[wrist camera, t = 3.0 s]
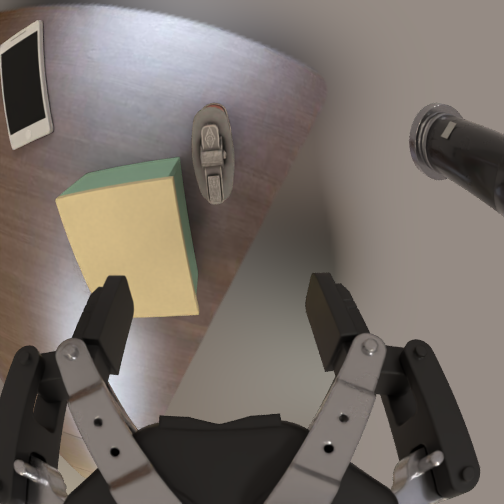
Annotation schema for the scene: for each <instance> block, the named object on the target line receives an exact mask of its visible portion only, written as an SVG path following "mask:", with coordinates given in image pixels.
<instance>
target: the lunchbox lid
mask: <svg viewBox="0 0 504 504" xmlns="http://www.w3.org/2000/svg"><path fill="white" fill-rule="evenodd" d="M55 200H56V204H57V207H58V210H59V213H60V216H61V219H62V222H63V225H64V228H65V231H66V234H67V236H68V239H69V242H70V244H71V247H72V250H73V252H74V255H75V257H76V260H77V262H78V264H79V267H80V269H81V271H82V274H83V276H84V278H85V280H86V283H87V285H88V287H89V289H90V291H91V293H93V292H94V291H95V290H96V289H97V288H98V287H103V285H104V283H105V281H106V279H107V277H108V276H109V275H124V276H126V278H127V281H128V285H129V289H130V292H131V295H132V299H133V303H134V315H133V318H135V317H163V316H183V315H198V314H199V307H198V302H197V298H196V293H195V289H194V284H193V280H192V275H191V270H190V265H189V261H188V256H187V250H186V245H185V240H184V235H183V229H182V224H181V218H180V212H179V207H178V201H177V194H176V188H175V182H174V176H169V177H161V178H154V179H147V180H141V181H134V182H128V183H122V184H116V185H111V186H105V187H100V188H95V189H90V190H85V191H80V192H75V193H71V194H66V195H62V196H59V197H57V198H56V199H55Z"/></svg>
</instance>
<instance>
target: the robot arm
mask: <svg viewBox="0 0 504 504" xmlns="http://www.w3.org/2000/svg"><path fill="white" fill-rule="evenodd" d="M422 151H423V156H424V159H425V161H426V163H427V165H428V166H429V167H430V168H431V169H432V170H434V171H435V172H437V173H439V174H442V175H443V176H445V177H447V178H448V179H450V180H451V181H453V182H455V183H456V184H458V185H459V186H461V187H462V188H464V189H465V190H467V191H469V192H470V193H472V194H473V195H475V196H476V197H477V198H479V199H480V200H482V201H483V202H485V203H486V204H487V205H489V206H490V207H492V208H493V209H494V210H496V211H497V212H498V213H500V214H501V215H502V216H504V134H502V133H499V132H497V131H495V130H492V129H489V128H487V127H484V126H482V125H479V124H476V123H473V122H470V121H468V120H465V119H462V118H459V117H456V116H454V115H451V114H448V113H440V114H437V115H435V116H434V117H433V118H431V120H430V121H429V122H428V124H427V125H426V127H425V130H424V133H423V138H422ZM305 304H306V305H305V307H306V313H307V316H308V319H309V322H310V325H311V328H312V331H313V334H314V338H315V341H316V344H317V347H318V350H319V354H320V357H321V360H322V363H323V367H324V369H325V372H328V371H334V373H335V379H334V380H333V382H332V384H331V386H330V389H329V390H328V393H327V394H326V396H325V398H324V400H323V402H322V404H321V406H320V408H319V410H318V412H317V413H316V415H315V417H314V419H313V420H312V422H311V424H310V425H309V427H308V429H306V428H305V427H302V426H300V425H298V424H295V423H291V422H288V421H281V417H280V414H270V415H257V416H249V417H245V418H242V419H238V420H234V421H231V422H227V423H223V424H215V423H211V422H207V421H202V420H198V419H194V418H191V417H177V416H160V417H159V423H154V424H151V425H148V426H146V427H143V428H141V429H140V430H138V429H137V428H136V426H135V425H134V424H133V422H132V421H131V419H130V418H129V417H128V415H127V413H126V412H125V410H124V408H123V407H122V405H121V403H120V402H119V400H118V398H117V396H116V395H115V393H114V391H113V389H112V387H111V386H110V384H109V382H108V379H109V375H110V374H112V375H119V370H120V366H121V361H122V357H123V353H124V349H125V345H126V341H127V337H128V333H129V330H130V326H131V322H132V319H133V315H134V303H133V299H132V295H131V292H130V289H129V285H128V281H127V278H126V276H124V275H109V276H108V277H107V279H106V281H105V283H104V285H103V287H98V288H97V289H96V290H95V291H94V292H93V293H92V294H91V295H90V297H89V299H88V301H87V305H86V306H85V308H84V312H82V315H81V317H80V319H79V322H78V324H77V326H76V329H75V331H74V334H73V336H72V338H70V339H67V340H65V341H63V342H62V343H61V344H60V345H59V346H58V348H57V350H56V351H54V352H48V353H42V354H40V353H39V351H38V350H37V349H36V348H35V347H34V346H24V347H22V348H21V349H19V350H18V351H17V353H16V354H15V356H14V359H13V361H12V364H11V367H10V369H9V372H8V375H7V378H6V381H5V384H4V387H3V390H2V393H1V397H0V504H436V503H439V502H442V501H445V500H448V499H451V498H453V497H456V496H459V495H461V494H464V493H466V492H468V491H470V490H472V489H473V488H474V487H475V486H476V484H477V482H478V480H479V477H480V467H479V464H478V460H477V457H476V454H475V450H474V447H473V444H472V441H471V439H470V436H469V433H468V430H467V427H466V425H465V422H464V420H463V417H462V414H461V412H460V409H459V407H458V405H457V402H456V400H455V397H454V395H453V393H452V390H451V388H450V386H449V384H448V381H447V379H446V377H445V375H444V373H443V371H442V368H441V366H440V364H439V362H438V360H437V358H436V356H435V354H434V352H433V350H432V348H431V347H430V346H429V345H428V344H427V343H425V342H424V341H421V340H416V339H415V340H411V341H409V342H408V343H407V344H406V346H405V347H404V348H402V347H392V346H387V345H385V343H384V342H383V341H382V340H381V339H380V338H379V337H378V336H376V335H373V334H370V332H369V330H368V328H367V326H366V324H365V322H364V320H363V318H362V316H361V314H360V312H359V310H358V308H357V306H356V304H355V302H354V301H353V298H352V296H351V294H350V292H349V291H348V290H347V289H346V288H345V287H344V286H343V285H342V284H335V282H334V280H333V278H332V276H331V274H330V273H312V275H311V278H310V283H309V287H308V292H307V296H306V302H305ZM37 394H38V395H37ZM376 394H380V395H381V398H382V402H383V405H384V408H385V411H386V415H387V418H388V421H389V424H390V428H391V432H392V435H393V439H394V442H395V446H396V450H397V453H398V457H399V462H398V463H397V465H396V466H395V469H394V472H393V486H392V488H391V490H390V489H389V488H388V487H386V486H385V485H383V484H382V483H380V482H379V481H377V480H376V479H374V478H372V477H371V476H369V475H368V474H367V473H365V472H364V471H363V470H361V469H359V468H358V467H357V466H355V465H354V464H353V463H351V462H350V461H351V458H352V456H353V454H354V452H355V450H356V447H357V445H358V443H359V441H360V438H361V436H362V433H363V431H364V429H365V426H366V423H367V421H368V418H369V416H370V413H371V410H372V407H373V405H374V402H375V399H376ZM36 396H37V399H36ZM35 400H36V403H35ZM34 404H35V407H34ZM67 404H68V407H69V409H70V412H71V414H72V416H73V419H74V421H75V423H76V425H77V428H78V430H79V432H80V434H81V436H82V438H83V440H84V442H85V444H86V446H87V448H88V450H89V452H90V454H91V456H92V458H93V460H94V461H95V463H96V465H97V467H98V468H97V469H96V470H95V471H94V472H93V473H92V474H91V475H90V476H89V477H88V478H87V479H86V480H85V481H83V482H82V483H81V484H80V485H79V486H78V487H77V488H76V489H75V490H74V491H72V492H71V493H70V494H69V495H67V493H66V484H65V483H64V480H63V477H62V475H61V474H60V472H59V471H58V470H57V469H58V459H59V450H60V442H61V435H62V428H63V422H64V416H65V411H66V406H67ZM33 408H34V412H33Z"/></svg>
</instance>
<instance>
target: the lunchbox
mask: <svg viewBox="0 0 504 504" xmlns="http://www.w3.org/2000/svg"><path fill="white" fill-rule="evenodd" d="M169 176H174V182H175V188H176V194H177V201H178V207H179V212H180V218H181V224H182V229H183V235H184V240H185V245H186V250H187V256H188V261H189V265H190V270H191V275H192V280H193V284H194V289H195V293H196V291H197V280H198V270H197V265H196V259H195V254H194V248H193V243H192V237H191V231H190V225H189V219H188V213H187V206H186V200H185V193H184V186H183V179H182V172H181V164H180V158H179V157H176V158H169V159H161V160H155V161H148V162H142V163H136V164H130V165H125V166H120V167H114V168H109V169H104V170H100V171H95V172H90V173H87V174H85V175H84V176H83V177H81V178H80V179H79V180H78V181H76V182H75V183H74V184H73V185H71V186H70V187H69V188H68V189H67V190H66V191H64V192H63V193H62V194H61V195H60V196H62V195H66V194H71V193H75V192H80V191H85V190H90V189H95V188H100V187H105V186H111V185H116V184H122V183H128V182H134V181H141V180H147V179H154V178H161V177H169Z"/></svg>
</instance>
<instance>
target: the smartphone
mask: <svg viewBox="0 0 504 504" xmlns="http://www.w3.org/2000/svg"><path fill="white" fill-rule="evenodd" d="M0 69H1V83H2V93H3V102H4V109H5V115H6V121H7V127H8V132H9V137H10V142H11V146H12V149H13V150H15V149H17V148H19V147H21V146H23V145H25V144H27V143H29V142H31V141H34V140H36V139H38V138H40V137H42V136H45V135H47V134H49V133H52V132H53V124H52V119H51V113H50V107H49V101H48V94H47V86H46V77H45V67H44V53H43V23H42V21H39V20H37V21H36V22H34V23H32V24H31V25H29V26H28V27H26V28H25V29H23V30H21V31H20V32H18V33H17V34H16V35H14V36H13V37H11V38H10V39H8V40H7V41H6V42H4V43H3V44H2V45H1V46H0Z"/></svg>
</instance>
